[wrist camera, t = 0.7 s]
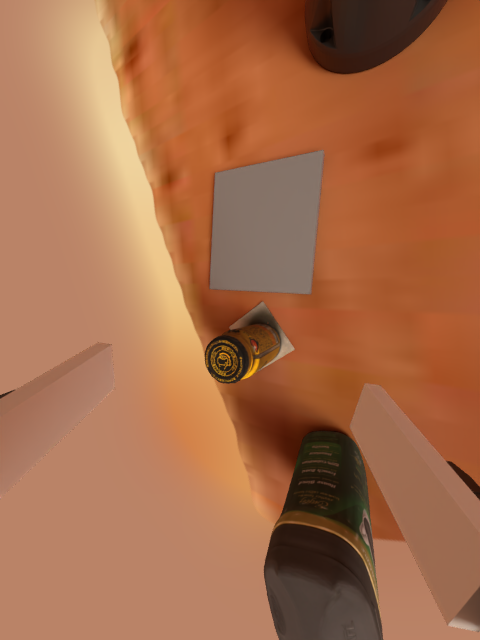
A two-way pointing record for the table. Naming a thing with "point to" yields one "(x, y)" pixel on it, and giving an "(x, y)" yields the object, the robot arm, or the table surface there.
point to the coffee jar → (324, 548)
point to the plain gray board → (267, 225)
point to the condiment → (247, 347)
